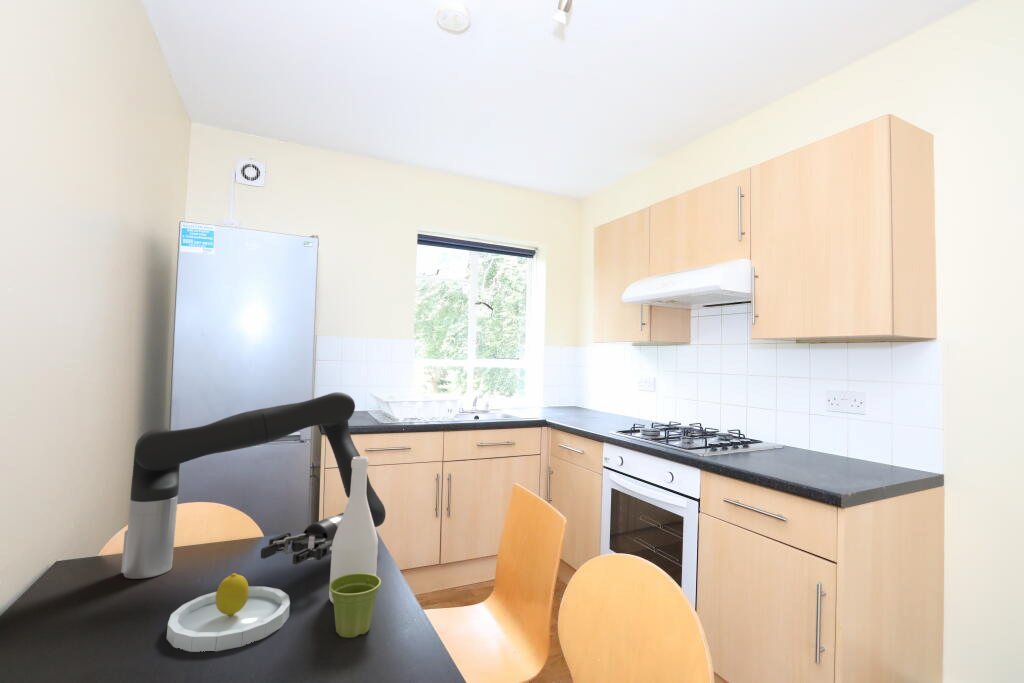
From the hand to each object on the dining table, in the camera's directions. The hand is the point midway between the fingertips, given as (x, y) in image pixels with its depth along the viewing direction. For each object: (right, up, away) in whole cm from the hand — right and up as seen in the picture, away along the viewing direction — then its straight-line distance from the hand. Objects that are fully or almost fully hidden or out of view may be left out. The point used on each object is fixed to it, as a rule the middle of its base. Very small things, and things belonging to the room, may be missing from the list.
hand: (277, 556), depth 105 cm
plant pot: (+20, -9, -12) cm, 25 cm away
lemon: (-4, -7, -11) cm, 13 cm away
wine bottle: (+16, -9, +1) cm, 18 cm away
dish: (-4, -8, -11) cm, 14 cm away
